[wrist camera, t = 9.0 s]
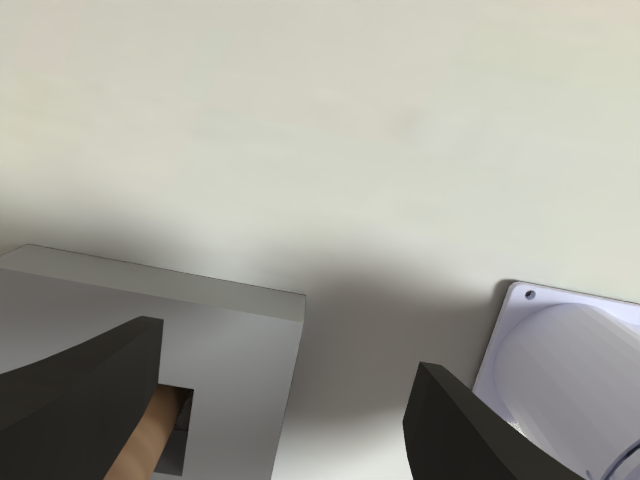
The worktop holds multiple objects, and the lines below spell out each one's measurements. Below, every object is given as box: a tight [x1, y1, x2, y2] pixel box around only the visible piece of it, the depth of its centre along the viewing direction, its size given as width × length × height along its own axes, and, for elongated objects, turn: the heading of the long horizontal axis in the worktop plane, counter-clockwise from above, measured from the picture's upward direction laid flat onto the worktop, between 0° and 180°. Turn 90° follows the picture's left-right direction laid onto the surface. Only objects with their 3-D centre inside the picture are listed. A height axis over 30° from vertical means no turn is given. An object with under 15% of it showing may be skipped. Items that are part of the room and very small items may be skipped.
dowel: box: [103, 383, 190, 480], centre depth 19 cm, size 4×4×8 cm
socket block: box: [0, 244, 306, 480], centre depth 22 cm, size 14×14×3 cm
